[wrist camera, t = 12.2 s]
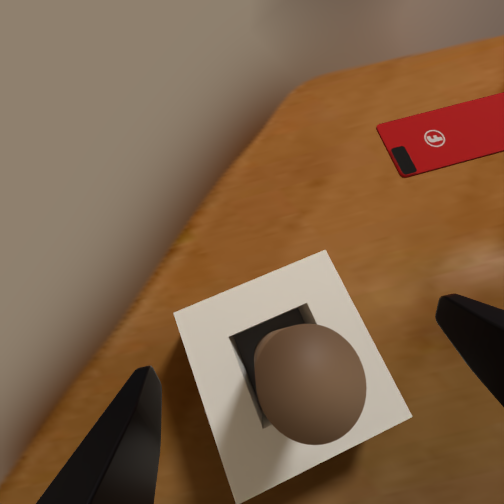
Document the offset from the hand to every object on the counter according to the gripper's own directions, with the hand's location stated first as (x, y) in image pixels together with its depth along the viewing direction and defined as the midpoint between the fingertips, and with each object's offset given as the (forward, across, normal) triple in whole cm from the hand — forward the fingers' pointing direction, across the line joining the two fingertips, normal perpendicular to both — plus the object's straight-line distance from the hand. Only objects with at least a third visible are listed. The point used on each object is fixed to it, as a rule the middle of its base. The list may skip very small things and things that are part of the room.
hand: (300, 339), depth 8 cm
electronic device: (+18, -21, -1) cm, 28 cm away
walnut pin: (+7, 0, +9) cm, 11 cm away
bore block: (+7, 0, +10) cm, 12 cm away
